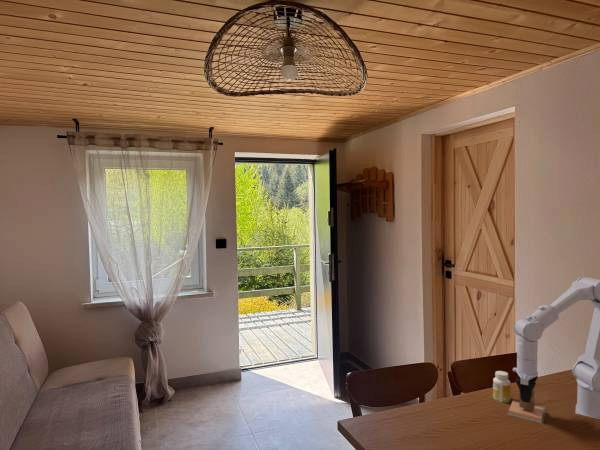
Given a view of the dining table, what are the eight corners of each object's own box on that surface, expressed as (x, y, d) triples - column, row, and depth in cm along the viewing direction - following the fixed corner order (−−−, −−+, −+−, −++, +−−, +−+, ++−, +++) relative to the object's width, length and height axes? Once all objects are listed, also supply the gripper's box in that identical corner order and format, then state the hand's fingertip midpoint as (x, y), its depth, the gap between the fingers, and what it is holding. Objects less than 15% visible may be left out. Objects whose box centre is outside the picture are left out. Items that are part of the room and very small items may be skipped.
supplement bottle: (510, 399, 142) (511, 371, 142) (509, 405, 138) (509, 377, 138) (494, 395, 145) (494, 368, 145) (491, 401, 141) (492, 374, 140)
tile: (543, 407, 132) (541, 418, 125) (543, 412, 132) (541, 422, 125) (512, 400, 137) (509, 410, 131) (512, 404, 137) (508, 414, 131)
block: (534, 405, 132) (535, 387, 132) (533, 410, 129) (533, 391, 128) (520, 402, 134) (521, 384, 134) (519, 406, 131) (519, 388, 131)
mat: (546, 408, 135) (546, 407, 135) (543, 426, 125) (543, 424, 125) (512, 401, 141) (512, 399, 141) (506, 416, 130) (506, 415, 130)
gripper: (516, 348, 139) (515, 387, 140) (509, 361, 127) (509, 404, 128) (540, 352, 135) (539, 392, 136) (535, 366, 123) (535, 410, 124)
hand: (526, 398), depth 131 cm, fingers closed on block, 4 cm apart
